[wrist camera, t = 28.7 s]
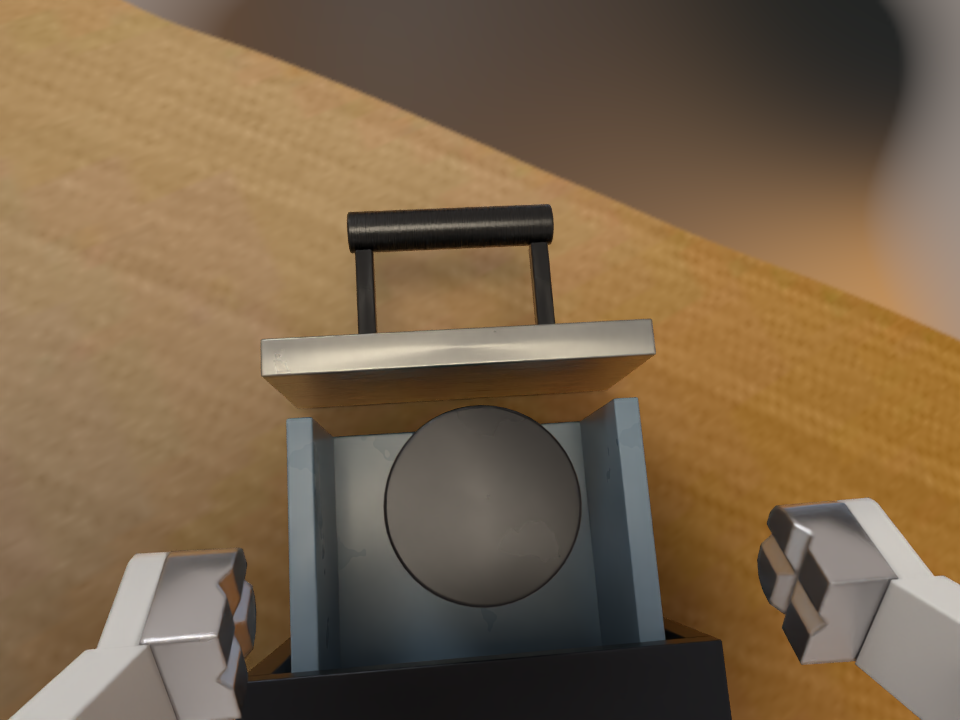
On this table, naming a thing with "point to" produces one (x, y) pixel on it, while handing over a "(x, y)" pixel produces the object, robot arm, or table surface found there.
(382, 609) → the drawer with handle
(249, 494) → the table surface
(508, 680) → the drawer cabinet
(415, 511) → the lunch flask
